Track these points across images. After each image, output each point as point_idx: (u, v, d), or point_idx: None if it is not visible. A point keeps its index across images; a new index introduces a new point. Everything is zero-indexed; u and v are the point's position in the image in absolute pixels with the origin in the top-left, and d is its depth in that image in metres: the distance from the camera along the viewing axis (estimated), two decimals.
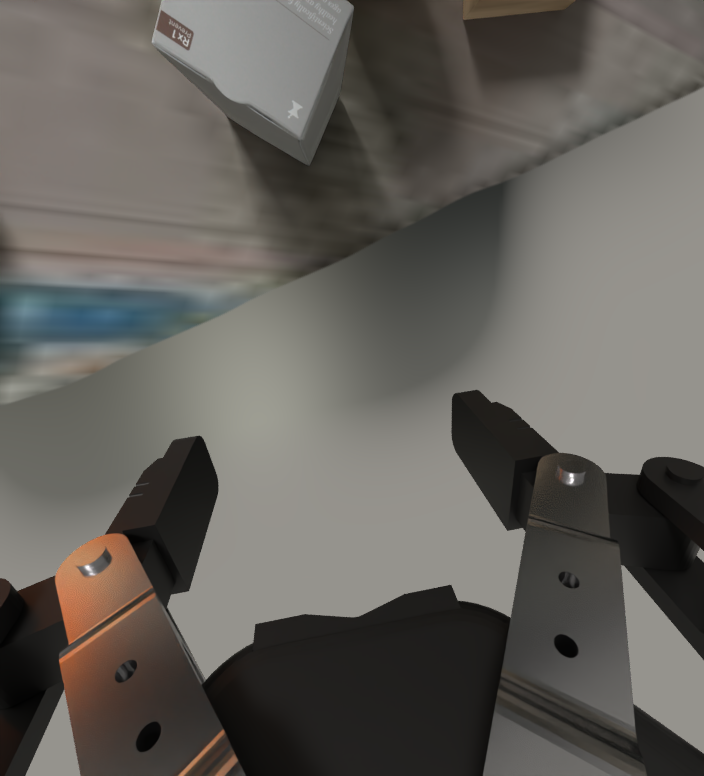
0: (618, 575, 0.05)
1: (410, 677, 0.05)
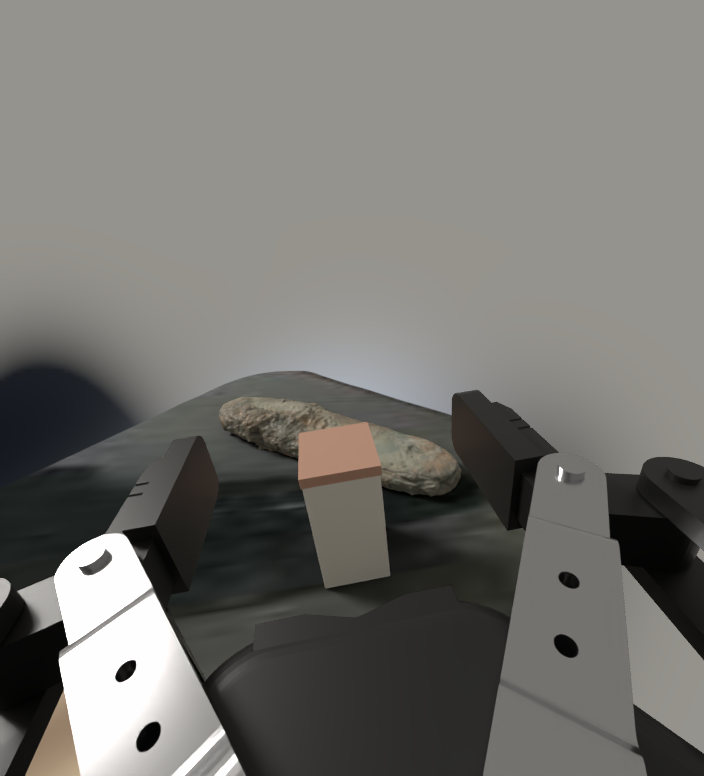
0: (618, 575, 0.05)
1: (410, 677, 0.05)
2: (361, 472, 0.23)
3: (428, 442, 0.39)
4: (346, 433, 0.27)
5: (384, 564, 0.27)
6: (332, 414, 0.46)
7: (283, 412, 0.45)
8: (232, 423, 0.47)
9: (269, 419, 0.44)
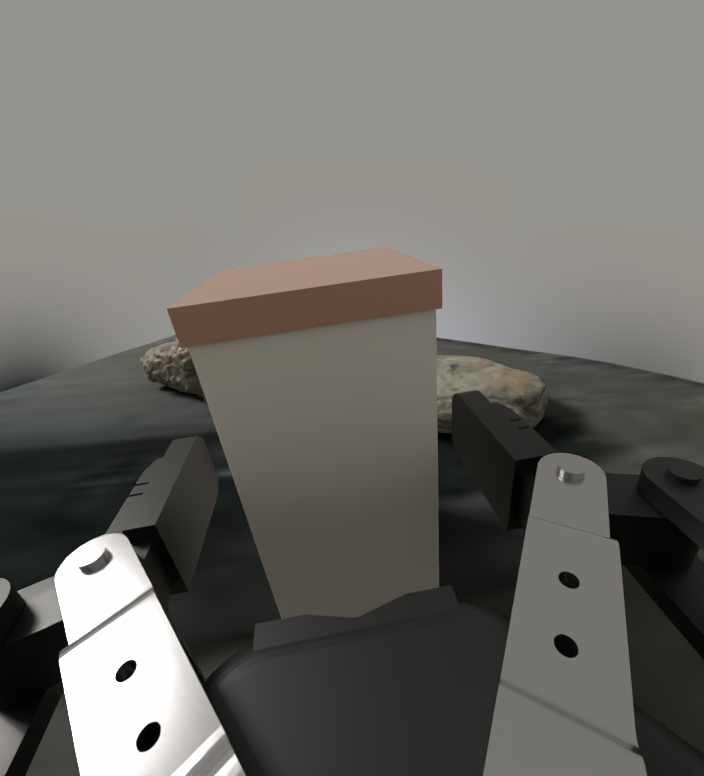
0: (618, 575, 0.05)
1: (410, 677, 0.05)
2: (377, 293, 0.07)
3: (480, 359, 0.24)
4: (335, 258, 0.11)
5: (428, 581, 0.11)
6: None
7: None
8: (160, 365, 0.30)
9: None
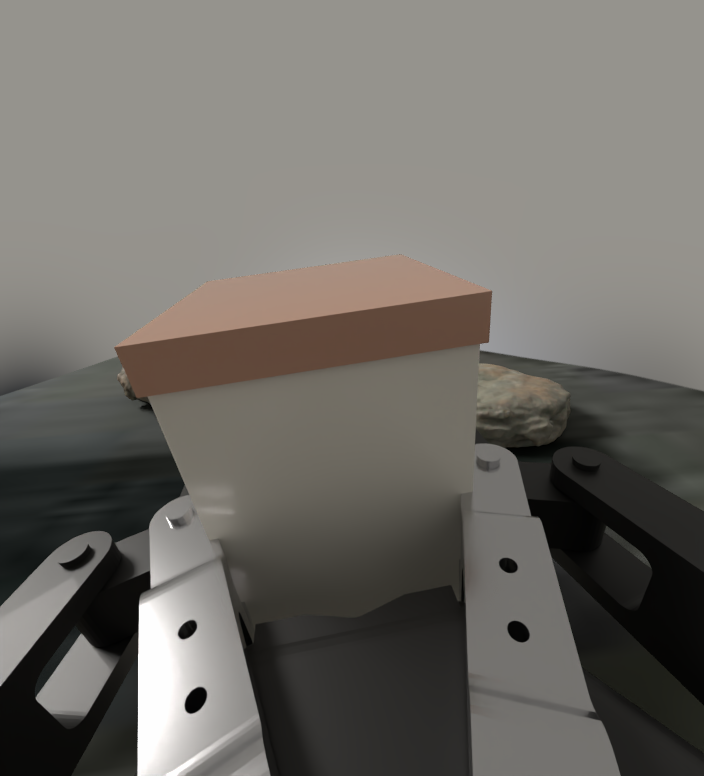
0: (546, 550, 0.05)
1: (410, 677, 0.05)
2: (404, 323, 0.05)
3: (493, 365, 0.23)
4: (342, 268, 0.09)
5: None
6: None
7: None
8: None
9: None
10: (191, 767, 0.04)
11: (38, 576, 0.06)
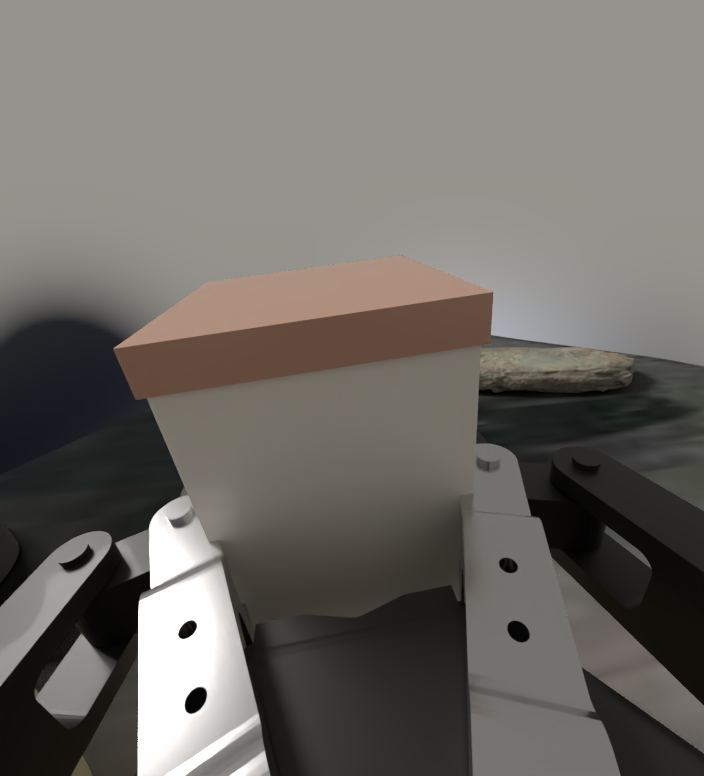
0: (546, 550, 0.05)
1: (410, 677, 0.05)
2: (404, 325, 0.05)
3: (581, 348, 0.40)
4: (342, 269, 0.09)
5: None
6: None
7: None
8: None
9: None
10: (191, 767, 0.04)
11: (38, 576, 0.06)
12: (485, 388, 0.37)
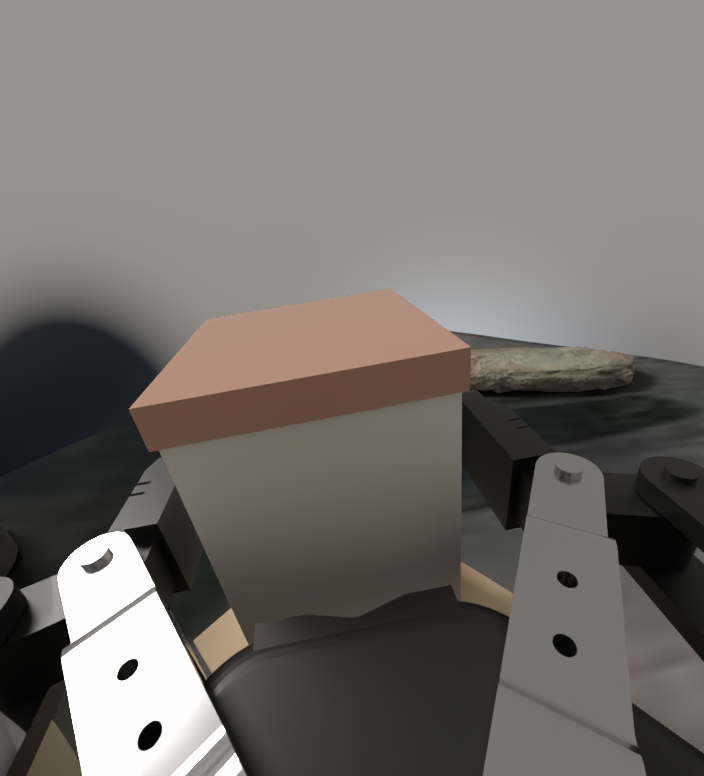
0: (616, 574, 0.05)
1: (410, 677, 0.05)
2: (392, 378, 0.06)
3: (581, 347, 0.40)
4: (335, 307, 0.09)
5: None
6: None
7: None
8: None
9: None
10: None
11: None
12: (488, 389, 0.37)
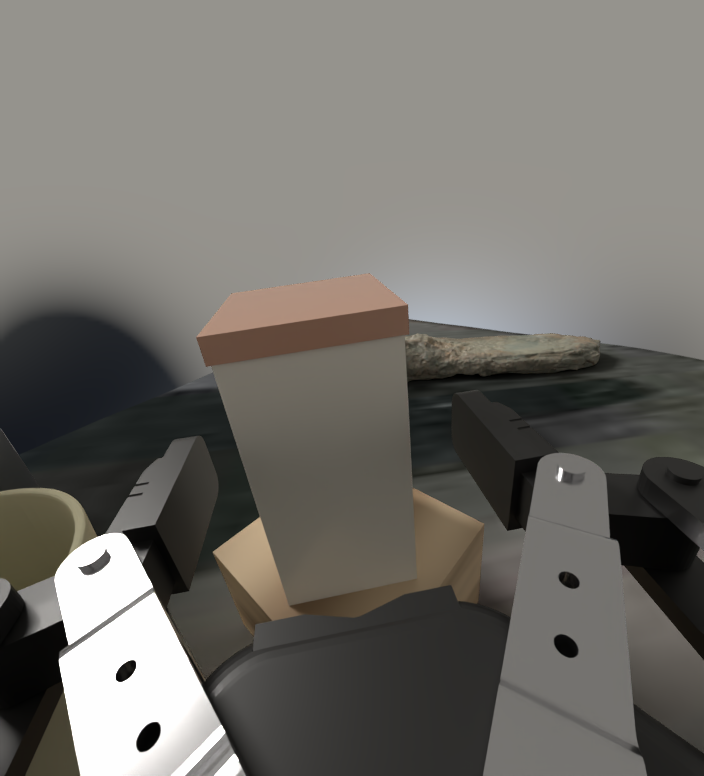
0: (618, 575, 0.05)
1: (410, 677, 0.05)
2: (358, 323, 0.09)
3: None
4: (327, 285, 0.13)
5: (406, 556, 0.14)
6: (442, 338, 0.47)
7: (407, 341, 0.44)
8: None
9: None
10: None
11: None
12: (474, 373, 0.41)
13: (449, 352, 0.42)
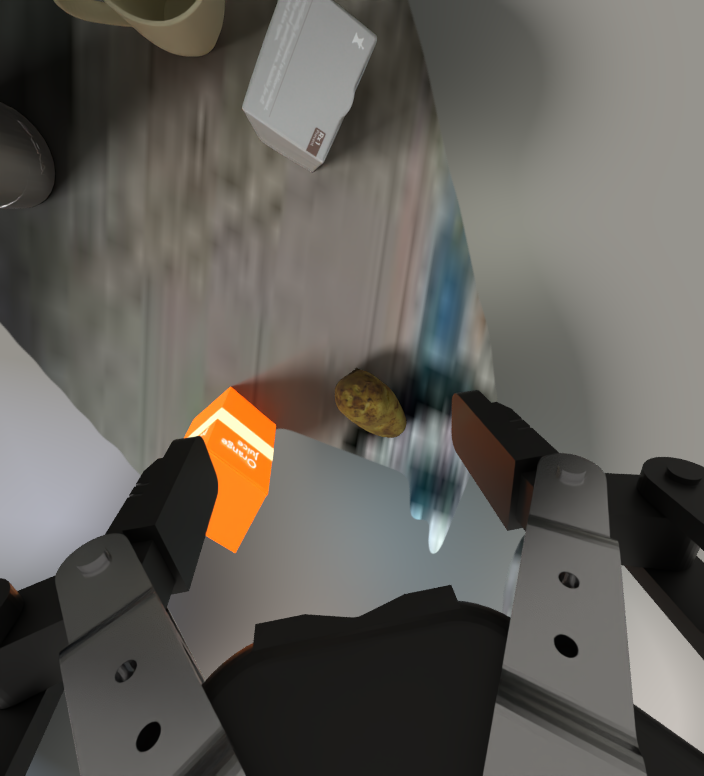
0: (618, 575, 0.05)
1: (410, 677, 0.05)
2: None
3: None
4: None
5: None
6: None
7: None
8: None
9: None
10: None
11: None
12: None
13: None
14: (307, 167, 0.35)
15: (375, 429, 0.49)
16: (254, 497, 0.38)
